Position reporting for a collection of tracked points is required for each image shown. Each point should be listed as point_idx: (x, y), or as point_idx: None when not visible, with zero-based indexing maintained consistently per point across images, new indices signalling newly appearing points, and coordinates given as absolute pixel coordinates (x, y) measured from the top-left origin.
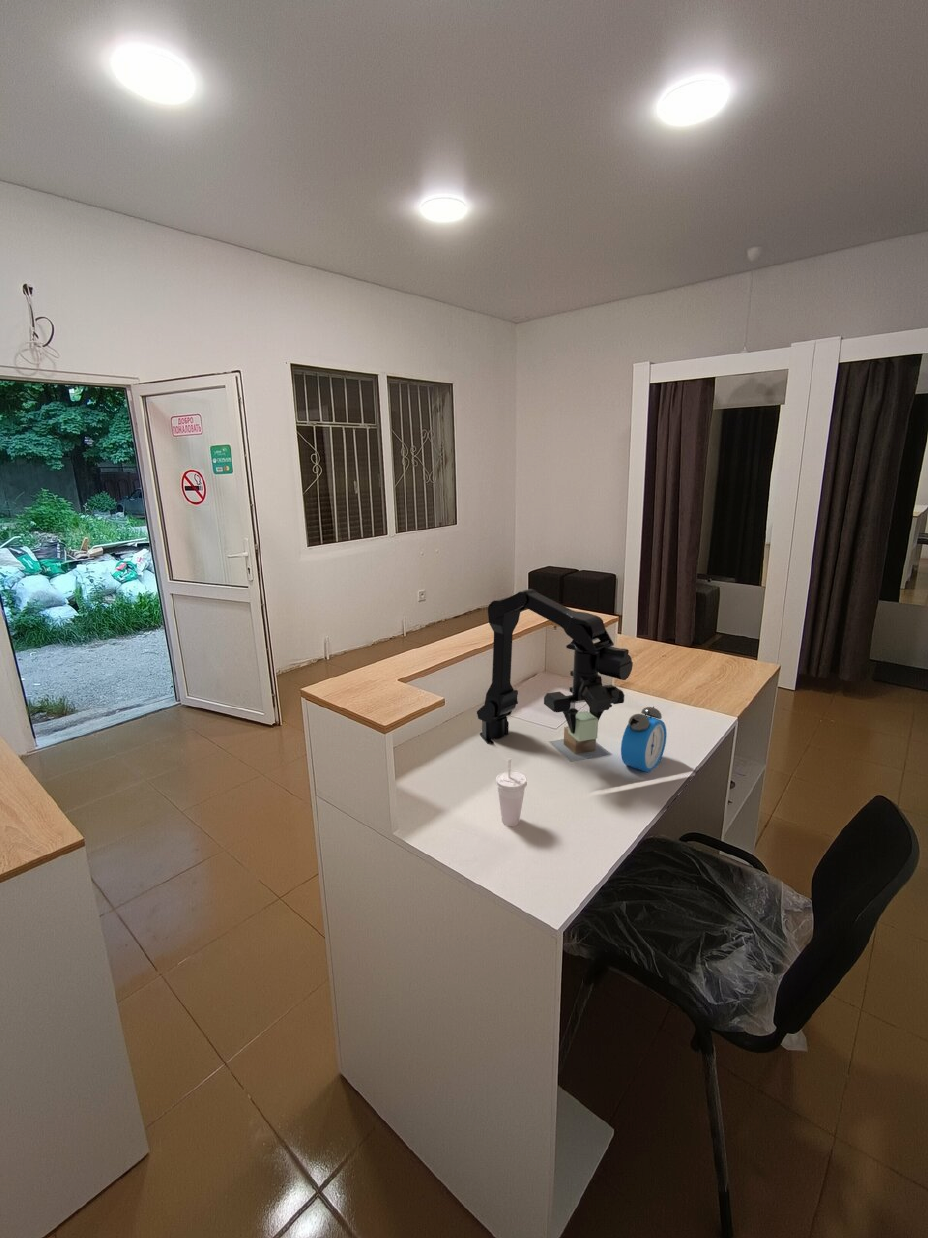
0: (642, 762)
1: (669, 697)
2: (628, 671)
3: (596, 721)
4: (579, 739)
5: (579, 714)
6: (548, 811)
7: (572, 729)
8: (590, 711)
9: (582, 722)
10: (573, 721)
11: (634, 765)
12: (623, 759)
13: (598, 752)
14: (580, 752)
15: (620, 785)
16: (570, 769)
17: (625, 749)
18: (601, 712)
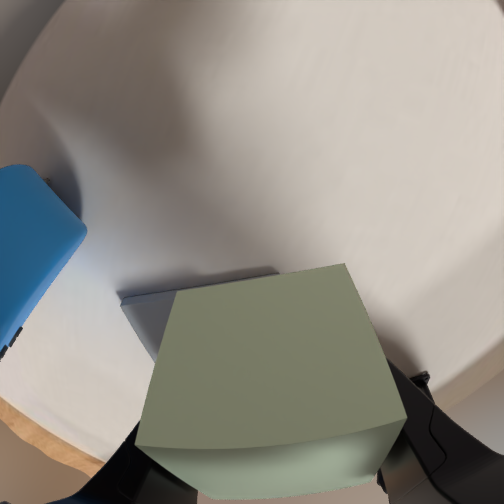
0: (16, 165)
1: (35, 425)
2: None
3: (160, 422)
4: (341, 275)
5: (299, 488)
6: (453, 18)
7: (389, 360)
8: (191, 498)
9: (361, 416)
10: (423, 419)
11: (53, 192)
12: (79, 222)
13: (161, 320)
14: None
15: (136, 110)
16: (291, 246)
17: (46, 232)
18: (98, 489)
